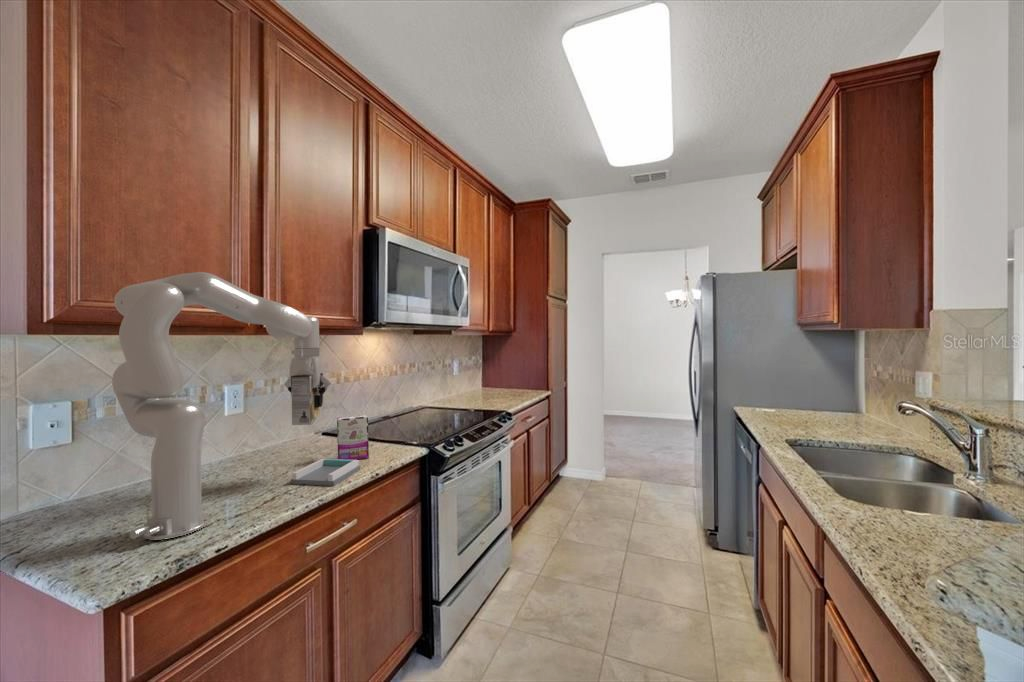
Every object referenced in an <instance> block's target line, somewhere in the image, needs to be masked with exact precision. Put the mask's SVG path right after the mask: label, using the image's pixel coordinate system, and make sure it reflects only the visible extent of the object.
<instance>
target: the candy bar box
mask: <svg viewBox="0 0 1024 682" xmlns="http://www.w3.org/2000/svg"><path fill="white" fill-rule="evenodd" d="M336 429H337V430H336V431H337V432H336V433H337V438H336V439H337V459H348V460H356V459H360V460H364V459H365V458H368V459H369V458H370V457H369V456H370V455H369V454H370V450H369V445H370V444H369V416H368V415H367V414H363V415H351V416H340V417H339V416H338V417H336ZM365 460H366V459H365Z"/></svg>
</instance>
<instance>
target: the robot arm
mask: <svg viewBox="0 0 1024 682" xmlns="http://www.w3.org/2000/svg"><path fill="white" fill-rule="evenodd" d="M113 304H114V308H116V310H117V312H118V313H119V314H120V315H122V316H123V319H122V320H121V323H120V326H119V333H118V337H119V338H118V339H119V343H120V347H121V351H122V352H123V355H124V358H125V359H124V360H125V361H124V362H122V363H121V364H120V365H118V366H117V367H116V369H115V370H114V372H113V374H112V378H111V383H112V388H113V392H114V394H115V396H116V399H117V402H118V404H119V405H120V408H121V410H122V412H123V414H124V417H125V418H126V421H127V423H128V425H129V426H130V428H131V429H132V430H133V431H134V432H135V433H137V434H139V435H141V436H144V437H149V438H155V443H154V445H153V448H152V452H151V456H150V457H151V458H150V482H151V484H150V487H151V488H150V489H151V492H150V493H151V495H150V496H151V498H150V499H151V500H150V501H151V517H148V518H146V523H144V525H143V526H140V527H137V528H134V529H132V530H131V531H130V532H129V537H130V539H131V540H135V539H137V538H140V537H143V539H144V538H145V540H146V539H150V540H149V541H151V540H155V539H165V538H171V537H178V536H182V535H185V536H187V535H186V534H188V535H190V534H189V533H191V534H193V533H192V532H194V531H196V530H198V531H200V530H202V529H203V527H204V528H205V527H207V526H208V525H209V524H210V521H211V520H210V519H211V518H210V516H209V514H206V513H203V509H202V507H203V506H202V505H203V504H202V503H203V499H202V441H203V436H204V431H205V425H206V416H205V412H204V410H203V409H202V407H200V405H198V404H196V403H195V402H192V401H189V400H185V399H173V398H172V397H174V396H175V395H177V394H179V392H181V390H183V387H184V383H185V379H184V375H183V372H182V370H181V367H180V365H179V362H178V359H177V357H176V356H177V355H176V354H175V351H174V349H173V346H172V343H171V339H170V328H171V326H172V325H171V324H172V323H173V321H174V320H175V318H176V317H177V315H178V314H179V313H180V312H181V311H182V309H183V308H185V307H187V306H203V307H205V308H208V309H209V310H211V311H214V312H216V313H219V314H221V315H224V316H225V317H228V318H231V319H233V320H236V321H237V322H242V323H245V324H252V325H263V326H265V330H266V332H267V334H268V335H270V337H272V338H275V339H279V340H280V339H281V340H285V339H287V340H288V339H289V340H290V339H293V346H294V347H293V350H291V354H292V355H293V357H292V358H291V360H290V367H289V377H288V380H286V381H285V382H284V384H283V385H284V386H285V387H286V388H287V390H288V392H289V393H291V376H294V375H311V376H312V388H315V393H316V396H315V397H314V398H315V408H318V407H321V406H322V403H323V404H324V397H323V398H322V395H323V396H324V394H325V392H326V391H327V390H328V389H329V387H331V385H332V383H331V382H330V381H329V380H328V379H327V377H325V371H324V363H323V359H322V357H320V321H319V318H317V316H307V315H306V314H305V313H303V312H301V311H299V310H297V309H295V308H294V307H292V306H289V305H287V304H284V303H281V302H277V301H274V300H271V299H268V298H267V297H266V298H265V297H263V296H259V295H256V294H254V293H252V292H248V291H247V290H245V289H243V288H241V287H239V286H237V285H235V284H233V283H232V282H229V281H228V280H225V279H223V278H221V277H220V276H218V275H215V274H213V273H210V272H204V271H197V272H185V273H180V274H175V275H172V276H171V275H170V276H167V277H163V278H158V279H154V280H149V281H145V282H139V283H135V284H130V285H127V286H124V287H123V288H121V289H119V291H118V292H117V293H116V294H115V296H114V300H113ZM321 386H323V387H321ZM170 397H171V398H170ZM207 524H208V525H207ZM201 528H202V529H201ZM199 529H200V530H199ZM196 532H197V531H196ZM194 533H195V532H194ZM182 537H183V536H182ZM178 538H179V537H178Z"/></svg>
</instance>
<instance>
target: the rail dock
mask: <svg viewBox="0 0 1024 682" xmlns="http://www.w3.org/2000/svg"><path fill="white" fill-rule="evenodd" d="M359 463H360V461H359V460H348V459H338V458H321V459H318V460H316V461H315V462H311V463H310V464H308V465H306V466H304V467H302V468H299V469H297V470H296V471H294V472H292V473H291V479H290V484H291V485H302V484H306V485H307V486H322V487H323V486H326V487H327V486H328V487H335V486H336V485H338V484H340V483H341V482H343V481H344V480H347V479H348V478H349V477H351V476H353V475H354V474H356V473H358V472H359V471H361V465H360V464H359ZM358 470H359V471H358ZM355 472H356V473H355ZM353 473H354V474H353ZM352 474H353V475H352Z"/></svg>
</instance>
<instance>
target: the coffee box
mask: <svg viewBox="0 0 1024 682" xmlns="http://www.w3.org/2000/svg"><path fill="white" fill-rule="evenodd" d="M323 386H324V385H323ZM323 386H321V387H323ZM290 395H291V425H292V426H311V425H314V424H316V423H317V422H319V421H322V420H324V402H323V403H322V406H321V407H318V408H315V398H314V397H315V396H316V393H315V388H312V376H311V375H294V376H291V392H290ZM322 398H323V399H324V394H323V395H322Z"/></svg>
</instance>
